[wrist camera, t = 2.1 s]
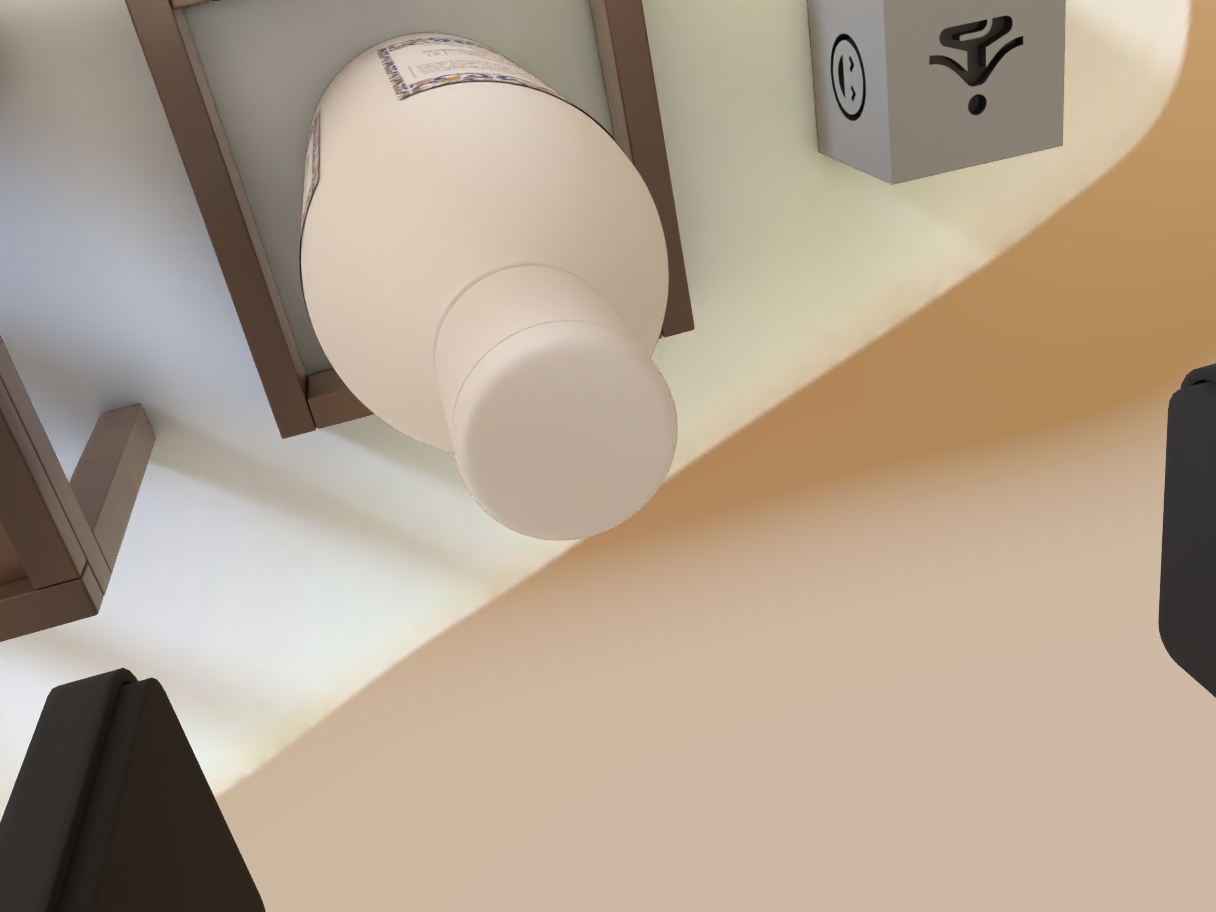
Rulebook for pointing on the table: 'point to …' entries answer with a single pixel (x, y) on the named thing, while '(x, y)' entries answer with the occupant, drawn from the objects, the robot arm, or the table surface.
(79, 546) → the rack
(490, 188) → the bath foam
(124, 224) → the table surface
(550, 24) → the table surface
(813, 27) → the dice cube
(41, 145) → the table surface
